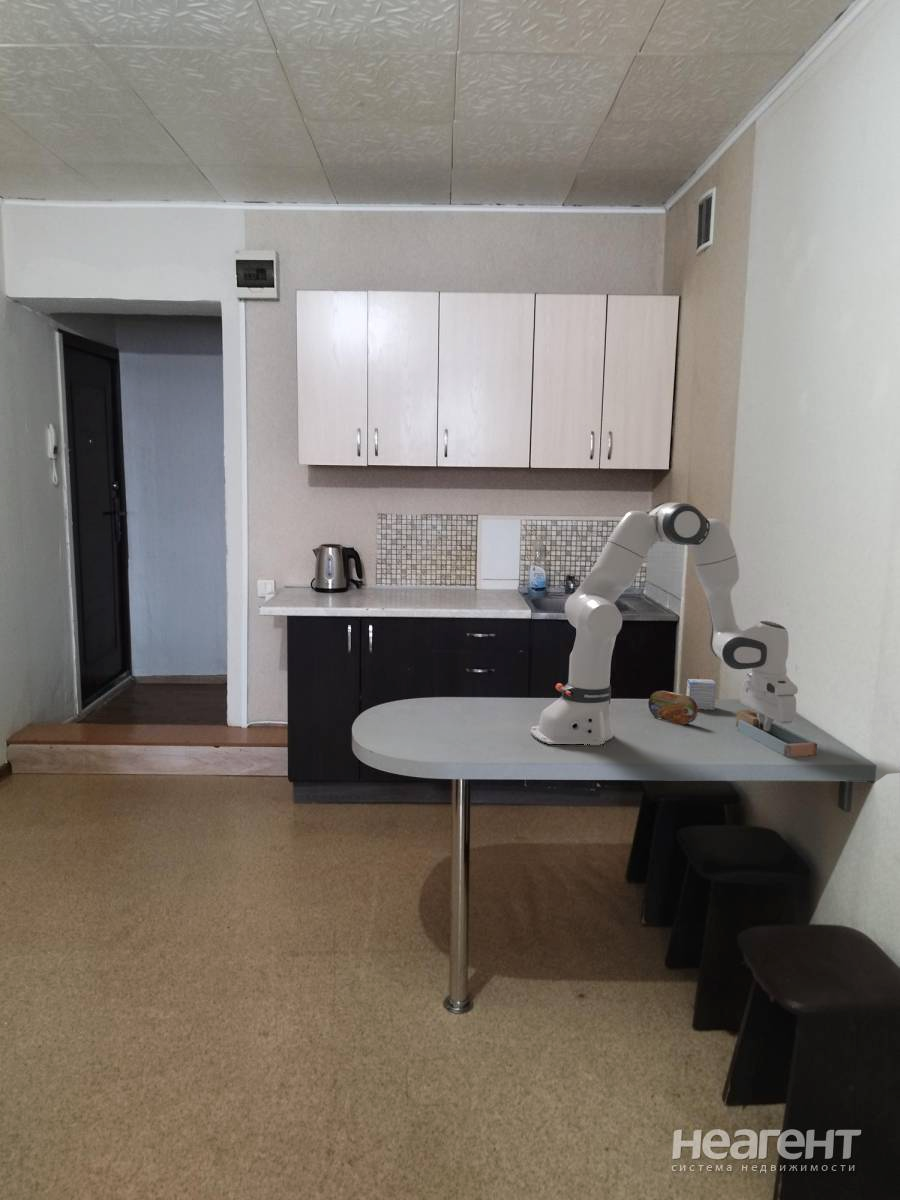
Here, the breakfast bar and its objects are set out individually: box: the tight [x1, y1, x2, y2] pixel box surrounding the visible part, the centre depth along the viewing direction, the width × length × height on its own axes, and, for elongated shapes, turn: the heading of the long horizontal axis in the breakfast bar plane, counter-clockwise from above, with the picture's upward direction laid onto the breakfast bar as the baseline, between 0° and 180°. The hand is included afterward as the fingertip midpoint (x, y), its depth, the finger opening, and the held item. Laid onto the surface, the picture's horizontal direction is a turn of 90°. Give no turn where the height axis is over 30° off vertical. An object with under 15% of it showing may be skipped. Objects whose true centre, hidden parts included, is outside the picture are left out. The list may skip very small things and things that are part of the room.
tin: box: [647, 690, 699, 725], centre depth 237 cm, size 15×3×8 cm, turn 44°
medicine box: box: [685, 678, 717, 711], centre depth 250 cm, size 8×4×9 cm, turn 84°
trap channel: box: [737, 720, 818, 758], centre depth 219 cm, size 9×22×3 cm, turn 14°
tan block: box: [735, 709, 769, 734], centre depth 230 cm, size 5×8×4 cm, turn 12°
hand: (764, 729), depth 224 cm, fingers closed
